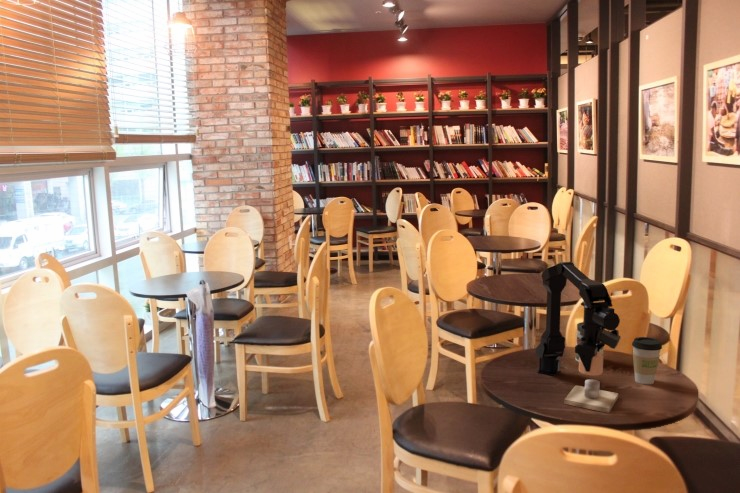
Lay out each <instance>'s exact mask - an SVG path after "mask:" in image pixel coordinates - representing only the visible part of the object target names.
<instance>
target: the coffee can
mask: <svg viewBox="0 0 740 493" xmlns="http://www.w3.org/2000/svg"><path fill="white" fill-rule="evenodd" d="M583 322H584V321H582V322H578V323H577V324H576V342H575V343H576V344H575V346H576V345H577V344H578V343H580V342H585V341H581V337H582V336H583V329H582V325H583ZM604 330H606V329H605V328H604ZM604 347H605V346H604ZM604 347H602V348H601V349H600V351H599V352H600V353H602V354H603V355H604ZM574 360H575V361H576V362H578V363H579V355H578V354H577V353H575V359H574Z"/></svg>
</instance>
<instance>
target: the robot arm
mask: <svg viewBox="0 0 740 493" xmlns="http://www.w3.org/2000/svg"><path fill="white" fill-rule="evenodd" d="M541 278H542V285H543V287H544V288H545V290H546V314H545V315H546V316H545V318H546V319H545V330H544V332H543V333H542V335H541V336H540V343H539V344H538V345H537V346H536V347H535V349H534V350H535V355H536V356H537V357H539V361H538V362H539V364H538V365H539V367H538V370H537V373H538V374H539V373H540V374H544V375H550V376H556V375H557V373H559V372H560V368H561V367H560V365H561V360H560V358H559V357H563V356H564V353H565V348H566V337H565V336H563V334H562V333H561V309H562V308H561V306H562V304H561V303H562V293H563V291H564V290H565V287H566V286H567V280H568V281H569V282H570V283H571V284H572V285H573V286H574V287H575V288H576V289H578V295H579V297H580V298H581V299H582V300H583V301H582V302H581V303H580V305H581V307H582V306H583V321H582V322H583V325H582V329H583V336H582V337H581V341H585V342H580V343H578V344H577V345H576V344H575V346H574V353H575V354H576V353H577V354H578V355H579V357H580V359H581V361H582V363H583V366H584V368H585V370H586V371H587V372H589V371H590V368H591V363H592V359H593V357H594V356H596V355H597V352H599V351H600V349H601V348H602V347H605V346H608V347H609V348H610V349H612V350H613V349H614V350H615V349H616V348H617V347H618V345H619V342H620V341H621V335H620V332H619V331H620V330H618V329H617V328H618V327H619V326H620V322H621V321H620V320H621V319H620V316H619V315H618V313H616V312H615V308H614V307H613V303H612V302H613V300H612V299H611V296H610V294H609V290H608V289H607V287H606V285H605V284H604V283H602V282H601V281H599V280H595V279H591V278H589V277H588V276H587V275H586V274H584V272H583V271H581V270H580V269H579V268H578V267H576V265H575V263H574V262H572V261H563V262H562V261H561V262H559V263H557V264H555V265H553V266H550V267H546V268H545V269H544V270H543V271H542V272H541ZM604 328H605V330H604Z"/></svg>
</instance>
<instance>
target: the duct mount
mask: <svg viewBox="0 0 740 493" xmlns="http://www.w3.org/2000/svg"><path fill="white" fill-rule="evenodd" d="M600 384H601V383H600V381H599V380H596V379H592V378H591V379H585V381H584V386H582V385H574V387H573V388H572V389H571V391H570V392H569V393H568V394H567V396H566V397H565V398H564V402H563V404H564V405H569V406H573V407H579V408H583V409H589V410H593V411H598V412H602V413H606V414H607V413H608V414H609V413H610V412H611V411H612V409H613V407H614V406H615V404H616V402H617V400H618V399H619V392H618V393H617V392H612V391H607V390H602V389H600V387H601V385H600Z"/></svg>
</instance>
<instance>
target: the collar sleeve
mask: <svg viewBox="0 0 740 493" xmlns="http://www.w3.org/2000/svg"><path fill="white" fill-rule="evenodd" d="M603 368H604V353H603V354H602V353H600V352H597V355H596V356H594V357H593V359H592V363H591V368H590V371H589V372H587V371H586V370H585V368H584V366H583V363H582V361H581V359H580V357H579V362H578V371H579V373H580V374H583V375H587V376H600V375H602V374H603V372H604V369H603Z"/></svg>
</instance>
